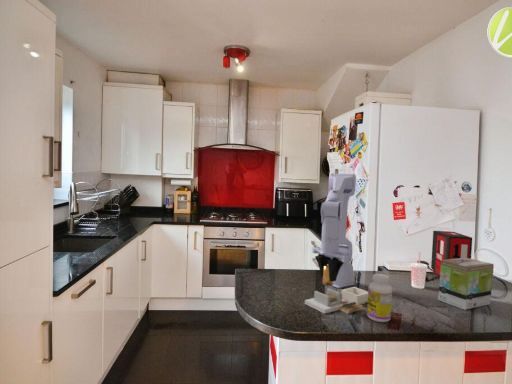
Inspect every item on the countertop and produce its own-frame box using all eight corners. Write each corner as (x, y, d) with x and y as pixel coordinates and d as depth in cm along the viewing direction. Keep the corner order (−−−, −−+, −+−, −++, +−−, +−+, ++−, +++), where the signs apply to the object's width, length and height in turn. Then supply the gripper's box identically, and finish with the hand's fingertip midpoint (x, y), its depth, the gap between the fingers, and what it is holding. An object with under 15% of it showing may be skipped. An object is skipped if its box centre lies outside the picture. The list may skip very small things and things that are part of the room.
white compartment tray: (330, 297, 112) (330, 285, 112) (350, 306, 104) (351, 293, 104) (304, 303, 105) (305, 291, 105) (324, 313, 98) (325, 300, 97)
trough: (354, 305, 105) (354, 300, 105) (362, 309, 102) (362, 303, 102) (339, 309, 101) (339, 304, 101) (347, 313, 98) (347, 307, 98)
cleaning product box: (469, 285, 134) (472, 237, 133) (446, 283, 135) (449, 236, 134) (450, 274, 150) (453, 231, 149) (430, 272, 151) (433, 230, 150)
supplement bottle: (363, 313, 99) (365, 272, 99) (383, 313, 100) (385, 272, 99) (372, 323, 92) (375, 279, 92) (394, 323, 93) (397, 279, 92)
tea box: (466, 311, 104) (469, 266, 104) (437, 300, 113) (439, 259, 113) (491, 304, 111) (494, 262, 111) (462, 295, 120) (464, 256, 120)
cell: (320, 283, 105) (321, 263, 105) (328, 281, 107) (329, 263, 107) (327, 286, 102) (328, 266, 102) (335, 285, 104) (336, 265, 104)
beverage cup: (409, 287, 127) (411, 252, 126) (408, 283, 133) (410, 249, 132) (427, 290, 125) (429, 254, 124) (425, 285, 130) (427, 251, 130)
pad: (327, 296, 107) (327, 293, 107) (336, 300, 104) (336, 297, 104) (319, 298, 105) (319, 295, 105) (328, 302, 102) (328, 299, 102)
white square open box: (354, 295, 115) (354, 286, 115) (370, 302, 109) (370, 292, 109) (341, 298, 111) (341, 289, 111) (357, 305, 105) (357, 296, 105)
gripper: (306, 235, 108) (304, 274, 109) (338, 242, 96) (335, 287, 96) (321, 234, 112) (320, 272, 112) (354, 241, 100) (352, 284, 100)
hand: (328, 279), depth 105 cm, fingers closed on cell, 3 cm apart
